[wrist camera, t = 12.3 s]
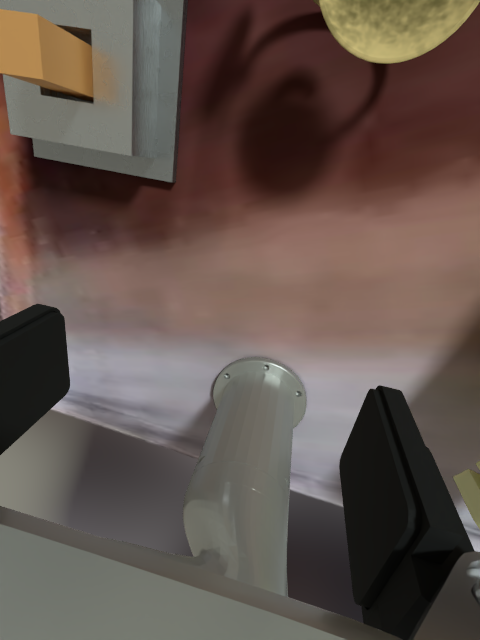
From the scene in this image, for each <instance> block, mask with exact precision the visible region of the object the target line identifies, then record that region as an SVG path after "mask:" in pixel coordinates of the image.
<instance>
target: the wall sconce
mask: <svg viewBox="0 0 480 640" xmlns="http://www.w3.org/2000/svg"><path fill="white" fill-rule="evenodd" d="M313 1H314V2H315V3H316V4H317V5H319V6H320V8H321V11H322V14H323V18H324V20H325V22H326V24H327V26H328V28H329V30H330V32H331V33H332V35H333V36H334V38H335V39H336V40H337V41H338V42H339V44H340V45H341V46H342V47H343V48H345V49H346V50H347V51H348V52H349V53H351V54H353V55H355V56H356V57H358V58H360V59H363V60H366V61H369V62H374V63H384V64H390V63H399V62H403V61H407V60H411V59H413V58H416V57H418V56H420V55H423V54H425V53H426V52H428V51H430V50H432V49H434V48H435V47H436V46H438V45H439V44H441V43H442V42H443V41H445V40H446V39H447V38H448V37H449V36H451V35H452V34H453V33H454V32H455V31H456V30H457V29H458V28H459V27H460V26H461V25H462V24H463V23H464V22H465V21H466V20H467V18H468V17H469V16H470V14H471V13H472V12H473V11H474V9H475V8H476V7H477V5H478V3H479V2H480V0H313Z"/></svg>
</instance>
